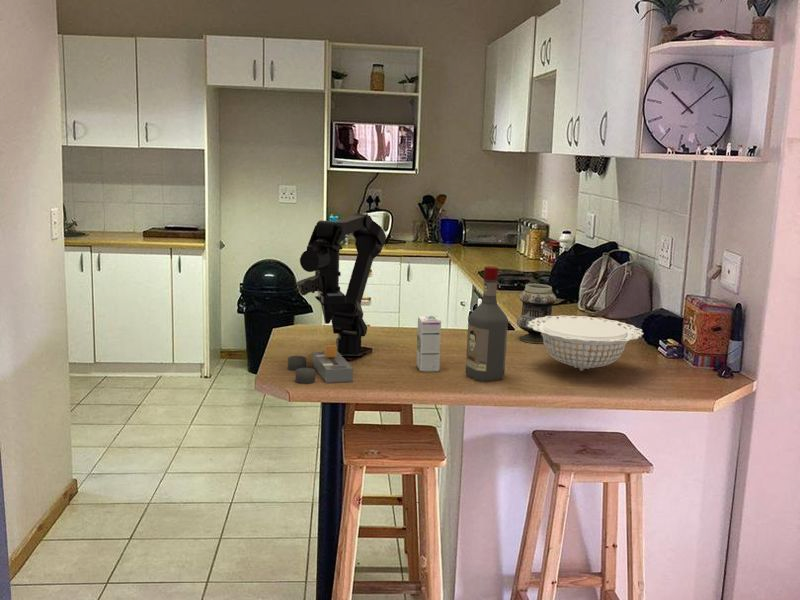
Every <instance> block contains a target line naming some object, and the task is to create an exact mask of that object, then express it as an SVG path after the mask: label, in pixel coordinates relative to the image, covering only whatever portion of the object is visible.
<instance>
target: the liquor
mask: <svg viewBox="0 0 800 600" xmlns="http://www.w3.org/2000/svg"><path fill="white" fill-rule="evenodd" d="M483 268H484V269H483V279H484V280H483V293H482V299H481V303H480V304H479V305H478V306H476V308H475V309H474V310H473V311H472V312H471V313H470V314H469V316H468V322H467V323H468V324H467V338H466V339H467V340H466V354H465V355H466V356H465V357H466V358H465V370H464V371H465V374H466V377H468V378H470V377H471V379H472V380H475V381H477V382H485V383H487V381H488V382H494V381H495V380H497V381H501V380H502V379H503V377H504V376H505V370H506V368H505V367H506V356H507V354H506V353H507V343H508V342H507V339H508V324H509V320H508V315H506V313H505V312H504V311H503V310H502V308H501V307H500V306H499V304H498V300H497V290H498V289H497V285H498V279H499V267H497V266H484V267H483ZM495 382H496V381H495Z"/></svg>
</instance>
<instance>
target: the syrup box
mask: <svg viewBox="0 0 800 600" xmlns="http://www.w3.org/2000/svg"><path fill="white" fill-rule="evenodd" d="M416 331H417V334H416V335H417V336H416V337H417V341H416V364H415V366H416V368H417V369H418V370H419V371H420V372H440V366H441V365H440V364H441V340H442V339H441V336H442V332H441V331H442V320H441V319H440V318H439V317H438V316H436V315H421V316H418V317H417V330H416Z"/></svg>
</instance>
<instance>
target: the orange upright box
mask: <svg viewBox="0 0 800 600" xmlns="http://www.w3.org/2000/svg"><path fill="white" fill-rule="evenodd" d="M323 350H324V351H323V352H324V356H325V357H337V346H336V343H335V344H324V349H323Z"/></svg>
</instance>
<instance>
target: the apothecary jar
mask: <svg viewBox="0 0 800 600" xmlns="http://www.w3.org/2000/svg"><path fill="white" fill-rule="evenodd" d="M524 287H525V288H524V290H523V291H521V292H520V293H519V300H520V301H521V302H522V306H521V315H519V316H518V317H517V319H516V325H517V327H519V329H521V330H523V331H524V332H526V333H527V334H526V333H525V334H523V335H521V336H519V338H518V340H520V341H522V342H525V343H528V344H544V342H543V336H542V333H541V332H539V331H535V330H533V328H530V327H528V325H529V323H528V322H529V321H532V320H535V319H536V318H541V317H545V316H552V311H553V310H552V307H553V305H554V304H555V303H556V302H557V296H556V295H555V293H554V292H553V287H552V286H551V285H547V284H541V283H526V284H525V286H524ZM549 318H552V317H549ZM537 322H538V321H537ZM532 323H533V322H532ZM539 323H540V322H539ZM543 323H544V322H543ZM538 326H539V325H538ZM545 342H546V341H545ZM547 343H548V341H547Z"/></svg>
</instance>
